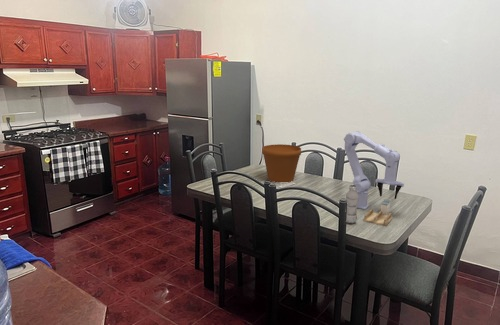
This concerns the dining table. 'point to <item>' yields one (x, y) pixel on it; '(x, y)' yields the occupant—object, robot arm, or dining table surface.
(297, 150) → the flowerpot
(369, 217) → the rack
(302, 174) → the dining table surface
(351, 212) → the plastic bottle
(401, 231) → the dining table surface
